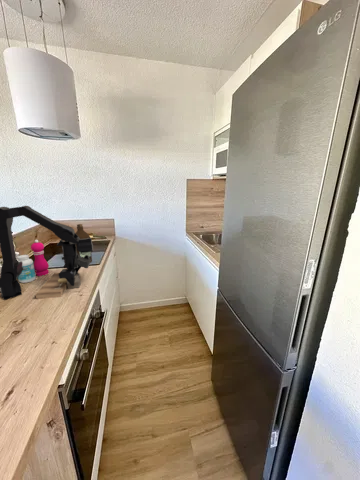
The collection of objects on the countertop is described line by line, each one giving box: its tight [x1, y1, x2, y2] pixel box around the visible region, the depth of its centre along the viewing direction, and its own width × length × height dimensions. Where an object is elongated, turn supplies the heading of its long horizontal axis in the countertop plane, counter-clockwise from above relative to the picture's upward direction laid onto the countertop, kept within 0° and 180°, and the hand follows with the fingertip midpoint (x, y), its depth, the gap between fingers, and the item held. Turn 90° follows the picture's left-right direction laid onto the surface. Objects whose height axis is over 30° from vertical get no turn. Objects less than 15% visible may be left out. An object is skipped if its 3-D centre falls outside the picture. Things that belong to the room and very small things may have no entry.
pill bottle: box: [16, 254, 37, 284], centre depth 108 cm, size 8×7×14 cm
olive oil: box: [75, 223, 93, 264], centre depth 132 cm, size 11×11×25 cm
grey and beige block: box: [58, 272, 82, 290], centre depth 102 cm, size 4×9×6 cm, turn 104°
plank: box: [35, 272, 68, 300], centre depth 103 cm, size 23×10×3 cm, turn 12°
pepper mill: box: [30, 239, 50, 277], centre depth 115 cm, size 7×7×20 cm
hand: (74, 283), depth 103 cm, fingers closed on grey and beige block, 4 cm apart
